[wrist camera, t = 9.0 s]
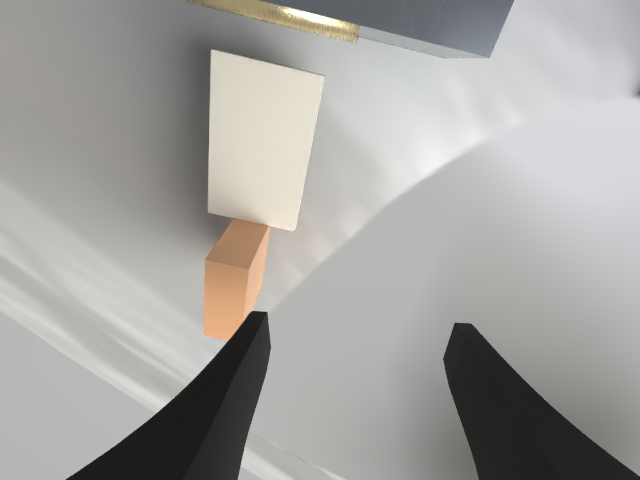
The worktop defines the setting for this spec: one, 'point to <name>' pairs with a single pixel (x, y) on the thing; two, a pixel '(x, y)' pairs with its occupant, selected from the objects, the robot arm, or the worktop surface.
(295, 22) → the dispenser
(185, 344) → the worktop surface
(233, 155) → the two-tone stacked block
